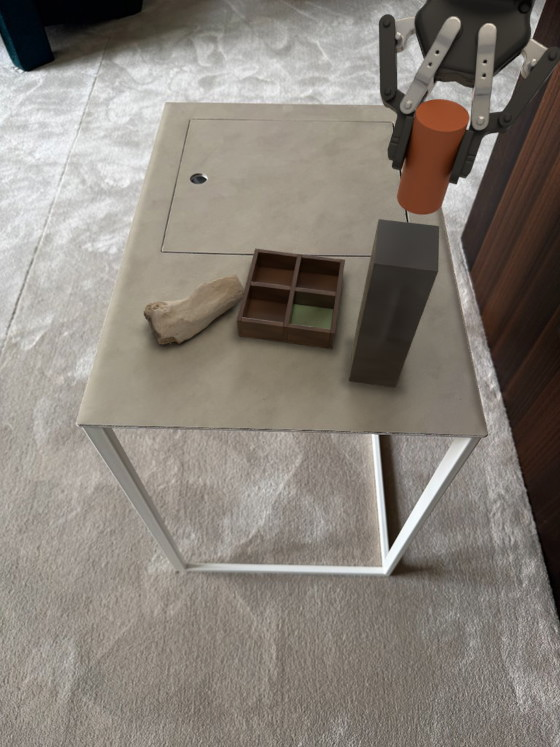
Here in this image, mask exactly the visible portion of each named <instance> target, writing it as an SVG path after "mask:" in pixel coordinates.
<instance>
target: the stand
mask: <svg viewBox="0 0 560 747" xmlns="http://www.w3.org/2000/svg"><path fill="white" fill-rule="evenodd" d="M439 255H440V226H439V225H435V224H426V223H419V222H410V221H409V222H408V221H401V220H393V219H384V218H378V220H377V225H376V229H375V235H374V238H373V244H372V249H371V254H370V259H369V264H368V268H367V273H366V277H365V278H366V279H365V283H364V288H363V293H362V297H361V303H360V308H359V311H358V317H357V322H356V327H355V332H354V335H353V336H354V337H353V340H352V348H351V357H350V364H349V365H350V366H349V373H348V381H349V382H353V383H360V384H367V385H375V386H382V387H388V388H396V387H397V385H398V382H399V379H400V377H401V374H402V371H403V368H404V366H405V364H406V360H407V357H408V355H409V351H410V350H411V347H412V344H413V342H414V338H415V336H416V334H417V330H418V328H419V324H420V322H421V320H422V316H423V314H424V311H425V309H426V306H427V303H428V301H429V297H430V295H431V292H432V290H433V287H434V284H435V281H436V279H437V276H438V272H439V267H440V266H439V263H440V262H439V261H440V260H439V258H440V256H439Z"/></svg>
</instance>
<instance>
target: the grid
mask: <svg viewBox="0 0 560 747" xmlns="http://www.w3.org/2000/svg"><path fill="white" fill-rule="evenodd" d="M345 264H346V259H343V258H336V257H328V256H320V255H313V254H311V255H310V254H304V253H296V252H288V251H281V250H272V249H263V248H255V247H254V250H253V254H252V259H251V263H250V266H249V271H248V275H247V278H246V281H245V285H244V286H245V287H244V289H243V290H244V291H243V296H242V297H243V298H242V299H241V301H240V305H239V310H238V313H237V317H236V326H237V334H238V337H244V338H252V339H257V340H258V339H259V340H263V341H264V340H266V341H273V342H281V343H286V344H287V343H288V344H294V345H302V346H307V347H316V348H322V349H323V348H324V349H331V350H333V348H334V342H335V336H336V330H337V329H336V328H337V320H338V314H339V313H338V312H339V306H340V301H341V300H340V299H341V292H342V285H343V277H344V270H345Z"/></svg>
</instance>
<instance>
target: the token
mask: <svg viewBox="0 0 560 747" xmlns="http://www.w3.org/2000/svg"><path fill="white" fill-rule="evenodd" d="M469 124H470V114H469V111H468V110H467V109H466V108H465V106H463V105H461V104H460V103H458V102H456V101H453V100H450V99H445V98H444V99H443V98H435V99H429V100H425V102H423V103H422V104H420V105H419V106H418V108H417V109H416V113H415V117H414V122H413V127H412V131H411V136H410V140H409V144H408V149H407V153H406V158H405V161H404V164H403V167H402V170H401V176H400V180H399V184H398V189H397V193H396V200H397V203H398V204H399V206H400V207H401V208H402V209H403V210H404V211H407V212H408V213H410V214H414V215H419V216H423V215H431V214H435V213H436V212H438V211H439V210H440V209H441V208H442V206H443V204H444V200H445V197H446V194H447V191H448V189H449V184H450V183H448V182H449V178H450V175H451V172H452V169H453V166H454V163H455V160H456V157H457V154H458V151H459V148H460V145H461V142H462V139H463V136H464V133H465V131H466V129H467V128H468V127H469ZM467 130H468V129H467Z"/></svg>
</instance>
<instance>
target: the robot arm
mask: <svg viewBox="0 0 560 747" xmlns="http://www.w3.org/2000/svg"><path fill="white" fill-rule="evenodd" d="M536 1H537V0H425V1H424V2H423V4H422V5H421V6H420V7H419V8H418V10H417V11H416V13H415V15H412V16H406V17H400V18H399V17H398V18H395V17H394V16H393V15H392V14H390V13H387V14H386V13H385V14H383V15H382V16H381V17H380V18H379V20H378V56H379V57H378V58H379V59H378V60H379V61H378V62H379V96H380V98H381V103H382V105H383V106H384V107H385V108H388V109H389V110H391V111H393V113H395V114H396V120H395V123H394V126H393V130H392V132H391V135H390V141H389V143H388V146H387V159H388V160H390V161H392V163H391V168H392V169H393V170H397V171H400V172H402V171H403V166H404V162H405V158H406V153H407V149H408V144H409V140H410V136H411V131H412V127H413V122H414V117H415V113H416V109H417V108H418V106H419V105H420V104H422V103H423V102H426V101H427V99H428V97H430V95H431V93H432V92H433V90H434V88H435V87H436V84H437V83H438V82H441V83H453V82H454V83H457V84H458V85H461V86H462V87H465V88H469V89H471V99H470V100H471V102H470V116H469V125H468V129H466V131H465V133H464V136H463V139H462V142H461V145H460V148H459V151H458V154H457V157H456V160H455V163H454V166H453V169H452V172H451V175H450V178H449V182H448V183H449V184H452V185H455V186H456V185H458V182H459V179H460V178H462V179H467V178H468V176H469V175H470V174H471V172H472V170H473V167H474V164H475V161H476V158H477V155H478V152H479V149H480V146H481V144H482V140H483V139H484V138H485V137H487V136H488V135H493V134H499V135H500V134H501V135H505V134H507V133H509V132H510V131H511V129H512V128H513V126H514V125H515V123H516V122H517V121H518V120H519V118H520V117H521V115H522V114H523V113H524V111H525V110H526V109H527V107H528V106H529V104H530V103H531V102H532V100H533V99H534V98H535V96H536V95H537V94H538V92H539V91H540V89H541V88H542V87H543V85H544V84H545V83H546V81H547V80H548V79H549V77H550V76H551V75H552V73H553V71H554V70H555V68H556V67H557V66H558V64H559V63H560V47H559V46H556V45H555V46H554V45H553V46H549V47H546V46H545V45H543V44H542V43H540V42H539V41H537V40H536V39H534V38H533V37H532V27H531V17H532V12H533V10H534V6H535V4H536ZM413 35H415V36H416V39H417V42H418V46H419V49H420V52H421V55H422V58H423V60H422V62H421V64H420V66H419V67H418V69H417V71H416V72H415V74H414V77H413V80H412V82H411V84H410V85H409V87H408V89H407V90H406V92H405V93H404V92H403V91H401V90H400V89H398V87H399V86H398V54H399V53H402V52H403V51H404V50H406V49H407V46H408V41H409V39H410V38H411V36H413ZM519 56H522V58H523V63H522V64H523V65H522V67H521V69H520V74H521V77H522V78H524V79H523V82H522V83H521V84H520V86H519V87H518V88H517V90H516V91H515V93H514V94H513V96H512V97H511V98H510V100H509V101H508V102H507V103H506V105H505V107H504V108H503V109H502V110H501V111H495V112H494V111H493V112H490V110H491V100H492V99H491V98H492V93H493V92H492V90H493V81H494V80H493V79H494V78H495V77H496V76H497V75H498V74H499V73H500V72H501V71H502V70H504V69H505V68H507V67H508V66H509V65H510V64H511V63H512V62H513V61H515V59H517V58H518V57H519Z"/></svg>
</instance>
